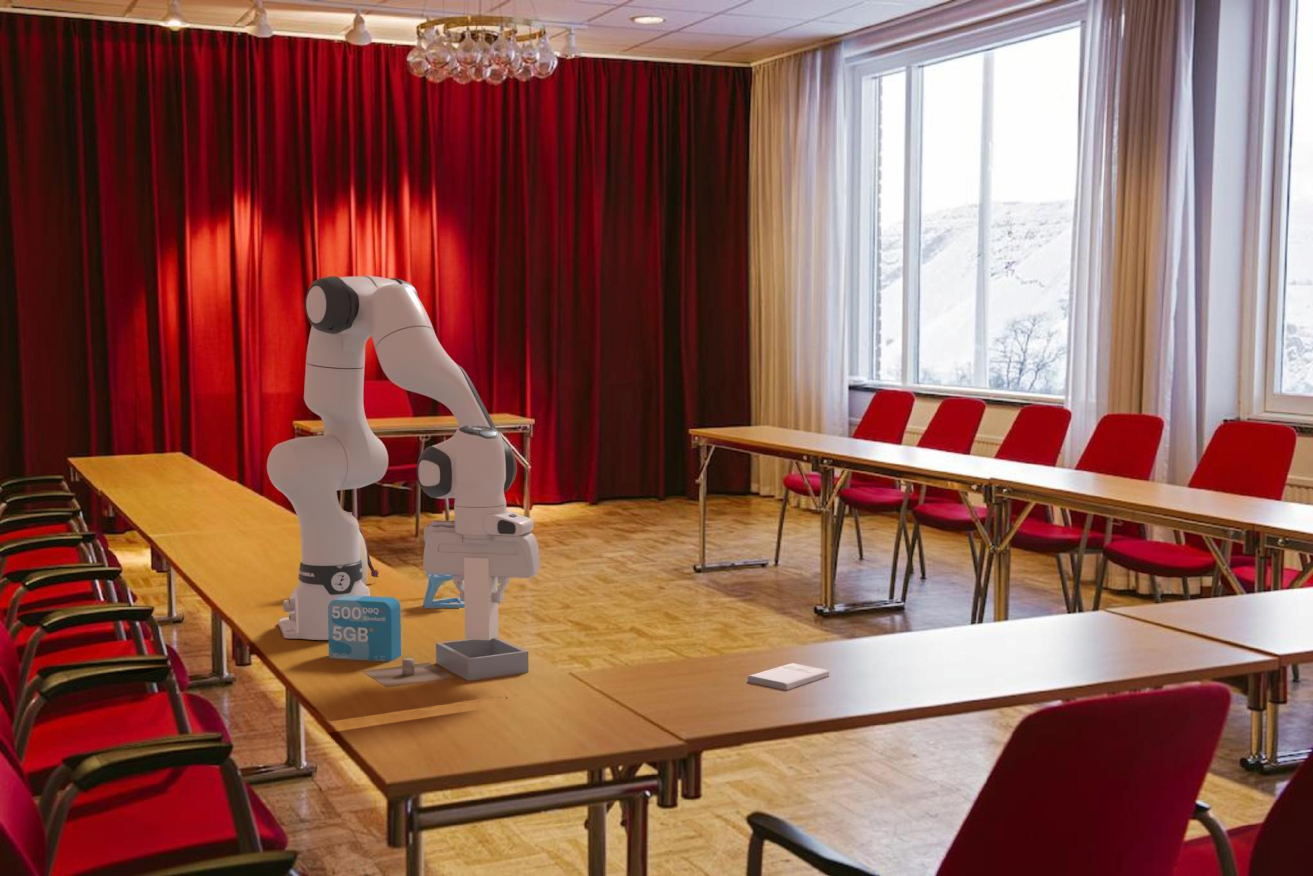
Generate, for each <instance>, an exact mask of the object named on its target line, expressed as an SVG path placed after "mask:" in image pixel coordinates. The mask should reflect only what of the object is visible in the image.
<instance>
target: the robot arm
mask: <svg viewBox="0 0 1313 876" xmlns="http://www.w3.org/2000/svg"><path fill="white" fill-rule="evenodd" d="M305 295H306V296H305V299H304V301H305V302H304V311H305V315H306V317H307V320H308V321H309V323H310V325H311V328H310V332H309V336H308V344H307V348H306V349H307V350H306V358H305V373H304V374H305V375H304V392H303V393H304V394H303V400H304V403H305V405H306V406H307V408H308V409H309V411H311V412H312V413H314V414H316V415H317V416H319V417H320V419H321V421H322V425H323V435H313V436H299V437H295V438H292V439H288V440H286V441H282V442H280V443H277V444H276V445H275V446H273V448H272V449H271V450H270V452H269V455H268V457H267V460H266V461H267V462H266V471H267V475H268V477H269V480H270V482H271V484H272V485H273V486H274V487H275V488H276V489H277V491H279V492H280V493H282V494H283V495H284V496H285V497H286V498H287V499H288V501H289V502H290V503H291V505H292V507H293V509H294V511H295V513H296V516H297V519H298V524H299V530H300V532H299V533H300V544H301V546H300V547H301V562H300V563H299V568H298V580H299V581H298V584H297V585H296V587H295V589H294V590H293V592H292V593H291V594H290V597H289V599H285V600H283V602H282V606H283V607H282V609H283V612H284V613H287V612H288V613H289V616H287V617H283V618H280V619H279V620H278V627H279V629H280V631H281V634H282V636H283V638H284V639H301V640H302V639H303V640H312V641H313V640H314V641H315V640H316V641H329V640H328V605H329V603H330V602H331V601H332V600H335V599H337V598H339V597H342V596H345V595H352V596H371V593H370V592H371V591H370V588H369V587H368V586H367V584H366V585H365V584H363V582H362V581H361V579H362V571H363V567H362V561H361V560H360V545H359V528H360V524H359V522H358V519H357V518H356V517H355V516H354V515H353V514H352V515H351V514H350V513H348V512H349V511H346V510H344V509H343V508H342V507H341V505H340V501H339V497H338V492H337V491H345V490H353V489H361V488H363V487H367V486H369V485H371V484H372V485H373V484H375V483H377V482H379V481H381V480H382V479H383V477H384V476H385V475H386V473H387V470H388V467H389V454H388V450H387V448H386V446H385V444H384V443H383V441H382V440H381V439H380V438H379V437H377V436H376V435H375V433H373V431H372V429H371V427H370V425H369V423H368V420H367V417H366V413H365V406H364V386H365V385H364V383H365V364H366V346H367V345H366V344H367V342H368V340H369V339H370V338H372V344H373V346H374V349H375V353H376V356H377V359H378V363H379V364H380V367H381V369H382V371H383V373H384V374H385V376H386V377H387V378H388V380H389V381H390V382H392V383H393V384H394V385H396V386H398V387H399V388H401V389H403V390H406V391H407V392H408V391H409V392H412V393H416V394H419V395H423V396H426V397H428V398H431V399H433V400H435V401H437V402H438V403H441V404H443V405H444V406H445V407H446V408H447V409H449V411H451V414H452V415H453V417H454V419H455V420H456V423H457V424H458V427H459V428H458V429H456V431H455V433H454V434H453V436H451V437H450V438H448V439H446V440H445V441H441V442H439V443H437V444H433V445H431V446H427V447H426V448H424V450H423V451H422V453H421V454H420V456H419V457H418V460H417V464H416V478H417V482H418V484H419V487H420V489H421V490H422V491H423V492H424V493H425V494H426V495H427V496H429V497H430V498H434V499H435V498H436V499H439V500H440V499H441V500H443V499H454V503H453V511H454V513H453V515H454V519H453V520H437V519H435V520H431V522H429V523H427V524H426V525H425V527H424V528H423V541H424V549H423V556H422V557H423V559H422V561H423V562H422V568H423V570H424V572H425V574H426V573H427V574H436V575H453V579H452V581H453V584H454V586H455V587H456V589H457V591H458V592H459V598H460V601H463V602H465V599H464V557H472V558H489V574H490V577H498V584H500V585H498V590H497V591H495V592H493V593H492V603H498V604H502V603H503V602H504V592H505V590H506V588H507V587H508V585H509V583H510V578H511V579H512V578H513V579H514V578H515V579H531V578H533V577H535V576H537V574H539V572H540V570H541V562H540V561H541V560H540V551H539V543H538V540H537V538H536V536H535V534H533V533H532V532H531V531H533V530H534V527H535V526H534V525H535V524H534V523H535V522H534V520H533V519H532V518H530V517H529V516H528V517H527V516H524V515H522V514H519V513H517V512H513V511H511V510H508V509H507V500H506V497H505V496H506V495H505V493H506V492H507V491H508V490H509V489H510V488H511V486H512V484H513V483H514V482H515V479H516V477H517V472H518V466H517V465H518V464H517V460H516V457H515V454H514V452H513V450H512V449H511V447H510V445H508V444H507V442H506V440H504V439H503V437H502V434H501V433H500V431H498V429H497V428H496V425H495V424H494V421H493V420H492V418H491V415H490V414H489V412H488V410H487V408H486V406H485V405H484V403H483V401H482V399H481V397H480V394H479V393H478V391H477V389H476V388H475V385H474V383H473V382H472V380H471V379H470V377H469V376H468V374H467V372H466V371H465V369H464V368H463V367H462V366H460V365H459V364H457V363H456V362H455V361H454V360H453V358H451V356H449V354H448V353H447V352H446V350H445V349H444V348H443V346H442V344H441V343H440V341H439V339H438V337H437V335H436V333H435V329H434V327H433V324H432V322H431V319H430V317H429V315H428V313H427V311H426V309H425V306H424V305H423V303H422V301H421V299H420V298H419V293H418V291H417V289H416V288H415V287H414V286H413V284H411V283H410V282H408V281H405V280H402V279H400V278H399V279H398V278H395V277H390V278H386V277H380V276H374V275H360V276H339V277H338V276H337V275H331V276H324V277H321V278H318V279H316V280H314V281H313V282H312V283H311V284H310V286H309V288H308V290H307V291H306V294H305Z"/></svg>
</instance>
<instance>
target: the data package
mask: <svg viewBox="0 0 1313 876" xmlns="http://www.w3.org/2000/svg"><path fill="white" fill-rule="evenodd" d="M401 608H402V607H401V603H400V601H399V600H398V599H397V598H396V597H391V596H390V597H389V596H371V595H370V596H352V595H345V596H342V597H339V598H337V599H335V600H332V601H331V602H330V603H329V605H328V640H327V641H328V658H329V659H343V660H357V661H358V660H360V661H361V660H362V661H377V662H393V661H395V660H396V659H398V658H400V657H402V619H401V618H402V614H401V613H402V611H401Z"/></svg>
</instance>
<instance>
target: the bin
mask: <svg viewBox="0 0 1313 876" xmlns="http://www.w3.org/2000/svg"><path fill="white" fill-rule="evenodd" d="M435 663H436V664H437V665H438V666H441V667H442V668H444V669H446V670H448V671H450V672H452V673H453V674H455V675H458V677H461V678H463V679H465V680H466V681H469V682H470V681H475V680H482V679H490V678H496V677H504V676H510V675H517V674H525V673H529V651H528V650H526V649H523V648H521V647H519V646H517V645H515V644H513V643H511V642H508V641H506V640H504V639H502V638H500V637H498V636H496V637H494V638H493V639H491V640H472V639H465V638H464V639H458V640H451V641H442V642H435Z"/></svg>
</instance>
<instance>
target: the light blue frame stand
mask: <svg viewBox="0 0 1313 876" xmlns="http://www.w3.org/2000/svg"><path fill="white" fill-rule="evenodd" d="M425 577H427V579H428V582H427V583H428V584H427V587H426V591H425V595H424V599H423V603H422V604H423V605H422V606H423V607H424V609H465V601H460V596H459V597H457V596H456V597H448V598H441V599H435V600H434V598H435V596H436V594H437V592H438V590H439V589H440V587H441V585H442V584H444V583H446V582H450V581H453V575H436V574H427V573H426V572H425ZM447 602H449V603H447Z"/></svg>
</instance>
